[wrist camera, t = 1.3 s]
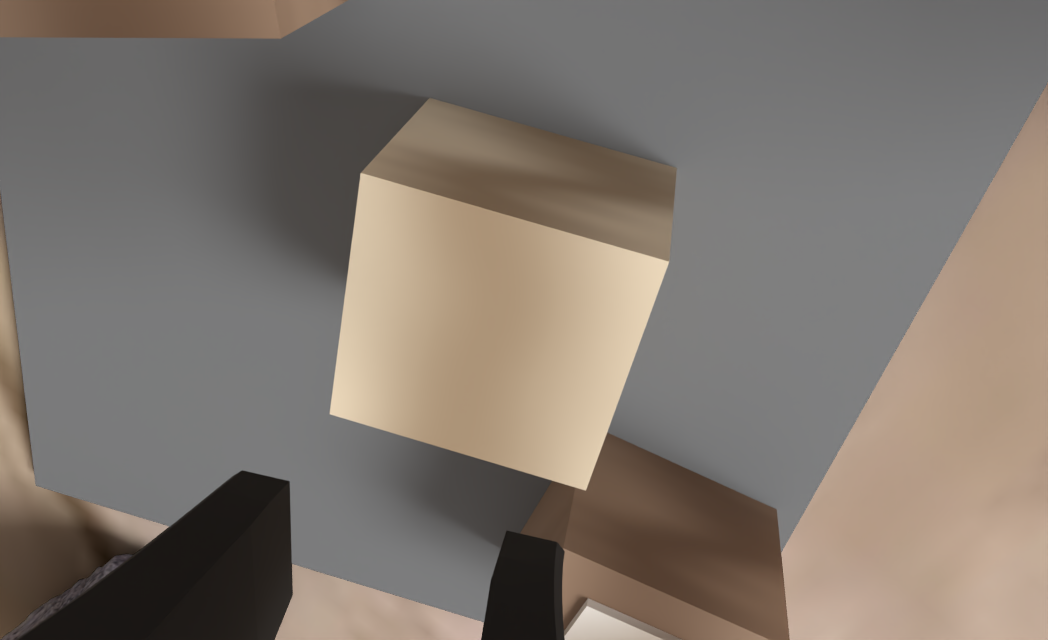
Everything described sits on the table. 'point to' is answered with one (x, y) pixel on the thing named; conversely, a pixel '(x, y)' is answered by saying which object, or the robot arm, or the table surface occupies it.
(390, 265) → the plain block
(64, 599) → the pumice stone
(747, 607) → the walnut block
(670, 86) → the slate mat
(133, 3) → the walnut block
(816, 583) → the table surface
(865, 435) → the table surface
